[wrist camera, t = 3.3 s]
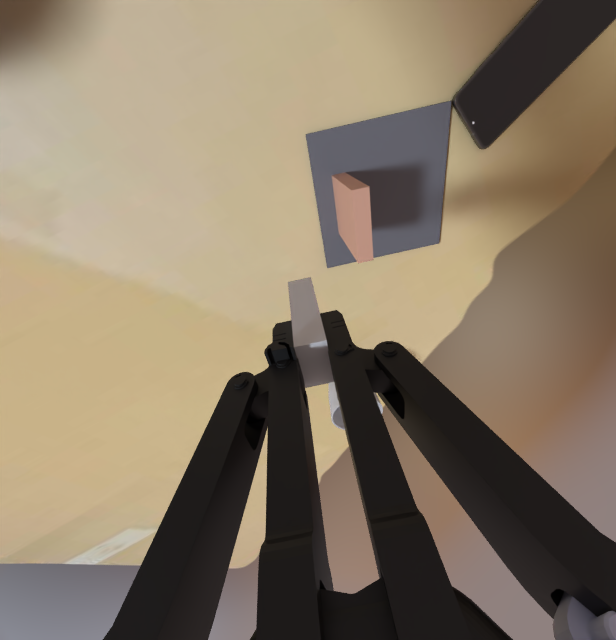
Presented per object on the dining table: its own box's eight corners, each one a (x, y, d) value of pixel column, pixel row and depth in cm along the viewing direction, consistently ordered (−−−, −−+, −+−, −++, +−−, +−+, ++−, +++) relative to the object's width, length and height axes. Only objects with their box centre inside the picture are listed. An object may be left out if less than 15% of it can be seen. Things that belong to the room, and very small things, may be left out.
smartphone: (627, 9, 27) (483, 152, 33) (615, 13, 28) (478, 152, 34) (607, -76, 24) (451, 99, 29) (594, -68, 25) (446, 100, 30)
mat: (305, 134, 30) (306, 134, 30) (449, 101, 30) (451, 100, 30) (327, 266, 40) (327, 268, 39) (437, 242, 39) (439, 243, 39)
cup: (373, 366, 52) (392, 410, 44) (342, 390, 55) (355, 436, 47) (344, 345, 48) (359, 389, 40) (313, 373, 51) (320, 419, 43)
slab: (331, 175, 33) (351, 190, 24) (344, 172, 33) (369, 186, 24) (338, 233, 37) (358, 263, 28) (350, 230, 37) (373, 259, 28)
